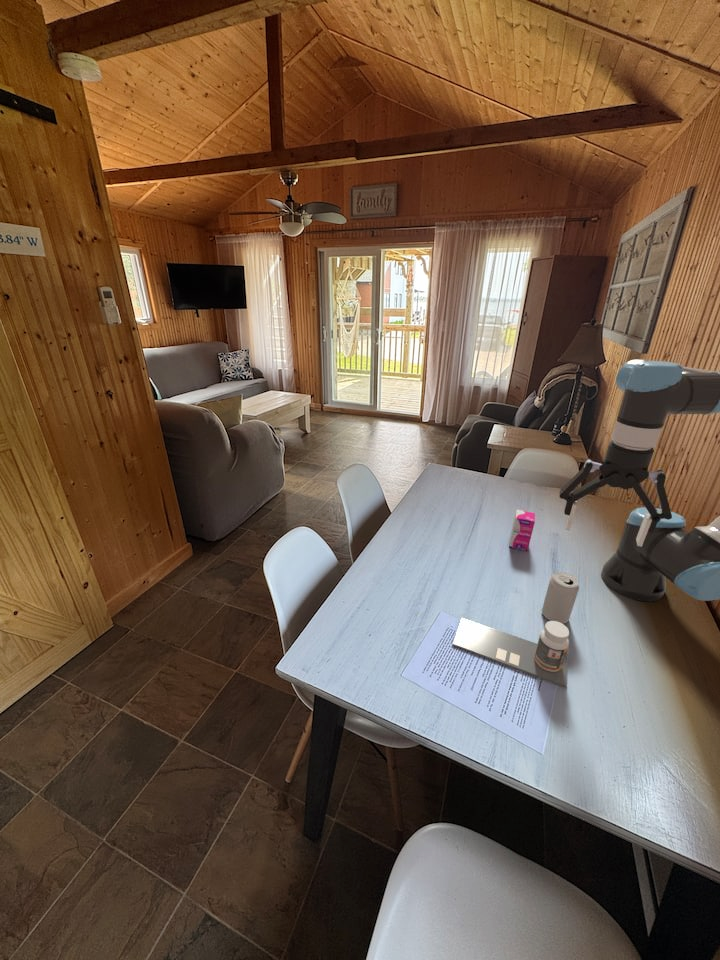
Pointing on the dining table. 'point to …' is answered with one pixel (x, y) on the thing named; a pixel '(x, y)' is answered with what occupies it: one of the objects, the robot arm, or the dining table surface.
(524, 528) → the supplement box
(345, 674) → the dining table surface
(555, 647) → the pill bottle
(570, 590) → the beverage can
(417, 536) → the dining table surface
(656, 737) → the dining table surface
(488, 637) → the slate board
